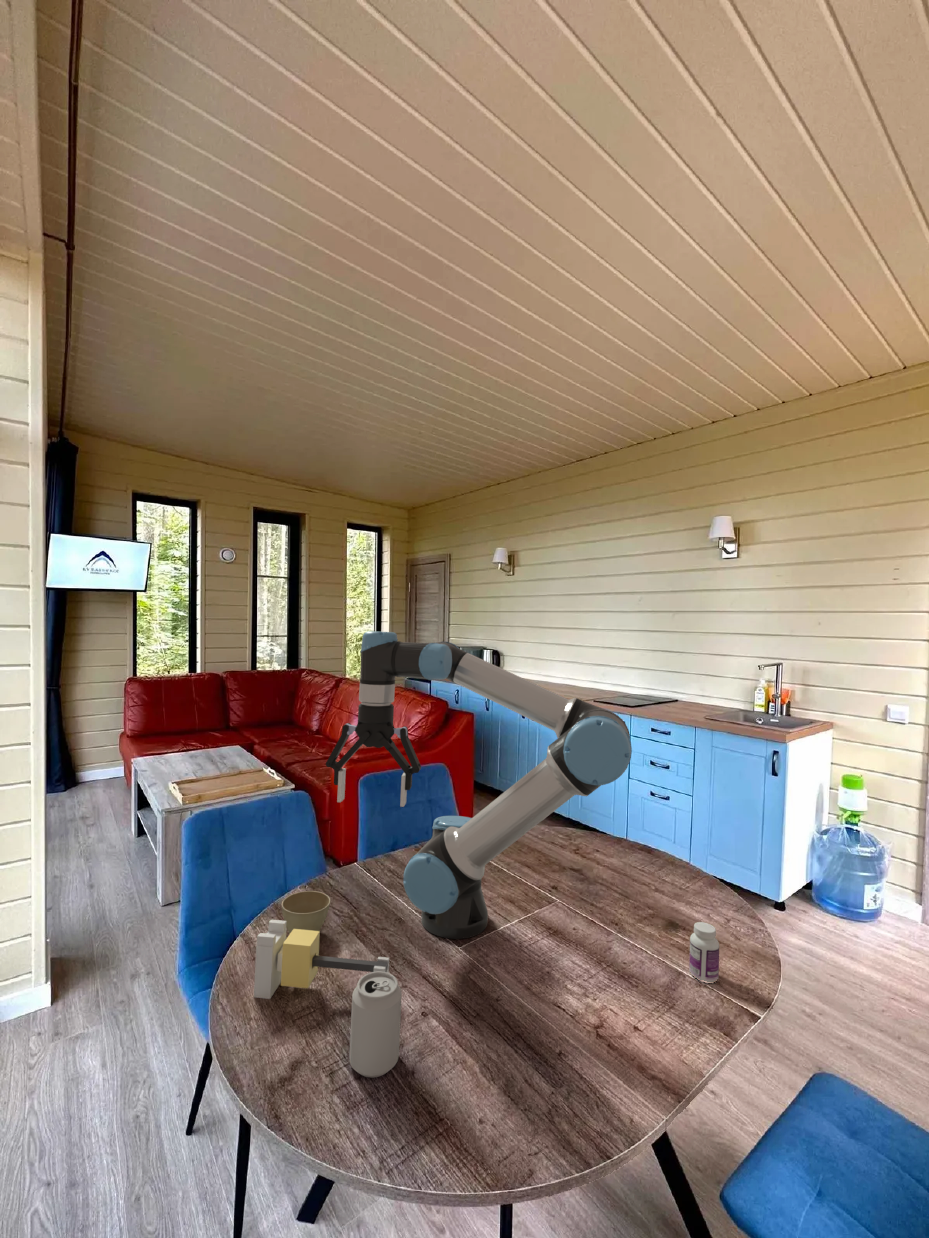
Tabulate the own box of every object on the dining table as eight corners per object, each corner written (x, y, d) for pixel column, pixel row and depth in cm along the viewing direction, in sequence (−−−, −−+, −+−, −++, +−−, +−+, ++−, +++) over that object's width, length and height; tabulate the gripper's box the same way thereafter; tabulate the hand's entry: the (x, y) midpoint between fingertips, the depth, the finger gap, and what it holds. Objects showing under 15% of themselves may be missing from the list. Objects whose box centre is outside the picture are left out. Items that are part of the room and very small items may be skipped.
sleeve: (317, 971, 101) (319, 931, 101) (308, 988, 96) (310, 945, 96) (291, 968, 101) (293, 928, 102) (280, 985, 97) (282, 943, 97)
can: (352, 1043, 87) (355, 967, 87) (399, 1042, 87) (402, 966, 88) (345, 1082, 79) (349, 999, 80) (397, 1081, 80) (401, 998, 80)
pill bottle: (716, 971, 110) (718, 923, 110) (719, 987, 105) (721, 936, 105) (687, 964, 112) (689, 917, 112) (689, 980, 107) (691, 930, 107)
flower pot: (315, 952, 110) (317, 916, 110) (270, 944, 112) (272, 909, 112) (336, 926, 120) (338, 893, 120) (294, 919, 122) (296, 887, 122)
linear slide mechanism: (389, 987, 100) (391, 929, 101) (381, 1010, 94) (384, 948, 95) (268, 975, 102) (271, 918, 103) (253, 997, 96) (256, 936, 97)
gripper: (436, 704, 120) (432, 801, 119) (325, 697, 122) (321, 793, 121) (431, 708, 112) (426, 812, 112) (313, 702, 114) (308, 803, 114)
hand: (371, 802), depth 117 cm, fingers open, 13 cm apart
